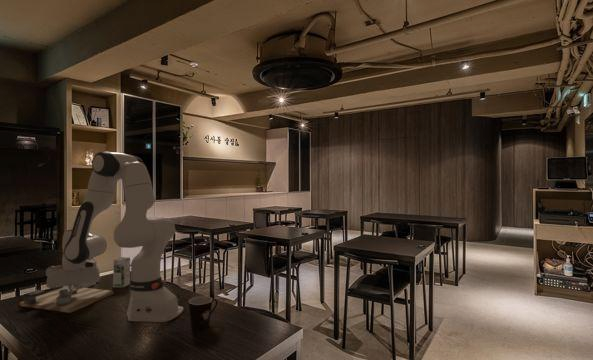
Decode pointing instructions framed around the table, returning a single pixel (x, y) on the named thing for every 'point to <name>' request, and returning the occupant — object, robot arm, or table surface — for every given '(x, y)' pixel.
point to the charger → (86, 285)
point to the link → (65, 299)
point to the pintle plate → (75, 299)
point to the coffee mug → (200, 312)
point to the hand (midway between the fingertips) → (74, 294)
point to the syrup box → (121, 272)
